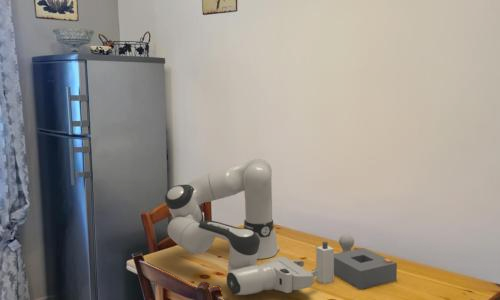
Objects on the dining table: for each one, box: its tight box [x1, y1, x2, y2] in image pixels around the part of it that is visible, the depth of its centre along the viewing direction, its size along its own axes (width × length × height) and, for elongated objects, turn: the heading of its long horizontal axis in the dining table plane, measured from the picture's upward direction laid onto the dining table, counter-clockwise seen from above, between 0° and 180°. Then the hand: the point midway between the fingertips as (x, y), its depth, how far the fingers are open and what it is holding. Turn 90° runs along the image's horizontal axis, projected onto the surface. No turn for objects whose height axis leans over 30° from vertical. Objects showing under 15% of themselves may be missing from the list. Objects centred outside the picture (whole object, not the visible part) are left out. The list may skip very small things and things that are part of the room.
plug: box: [315, 241, 335, 285], centre depth 165 cm, size 4×4×14 cm
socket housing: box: [334, 247, 398, 290], centre depth 168 cm, size 18×16×7 cm
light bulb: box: [338, 233, 355, 252], centre depth 186 cm, size 6×6×10 cm
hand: (310, 267), depth 161 cm, fingers open, 8 cm apart
